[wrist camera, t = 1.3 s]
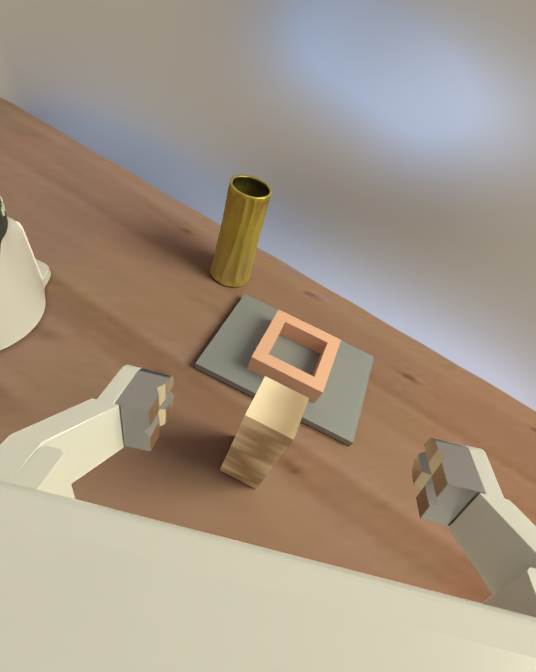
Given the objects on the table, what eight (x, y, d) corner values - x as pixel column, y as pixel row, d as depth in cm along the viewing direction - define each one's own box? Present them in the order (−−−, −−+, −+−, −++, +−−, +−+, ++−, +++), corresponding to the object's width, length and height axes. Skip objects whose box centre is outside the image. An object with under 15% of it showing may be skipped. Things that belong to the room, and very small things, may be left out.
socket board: (194, 367, 42) (197, 350, 40) (243, 298, 52) (248, 280, 49) (349, 446, 41) (363, 433, 38) (370, 360, 50) (382, 346, 48)
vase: (215, 255, 56) (232, 166, 45) (253, 267, 57) (278, 182, 46) (204, 280, 52) (220, 189, 41) (245, 293, 52) (271, 206, 42)
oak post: (219, 470, 36) (245, 414, 27) (236, 436, 38) (265, 376, 29) (255, 489, 35) (293, 439, 26) (270, 453, 38) (309, 398, 29)
